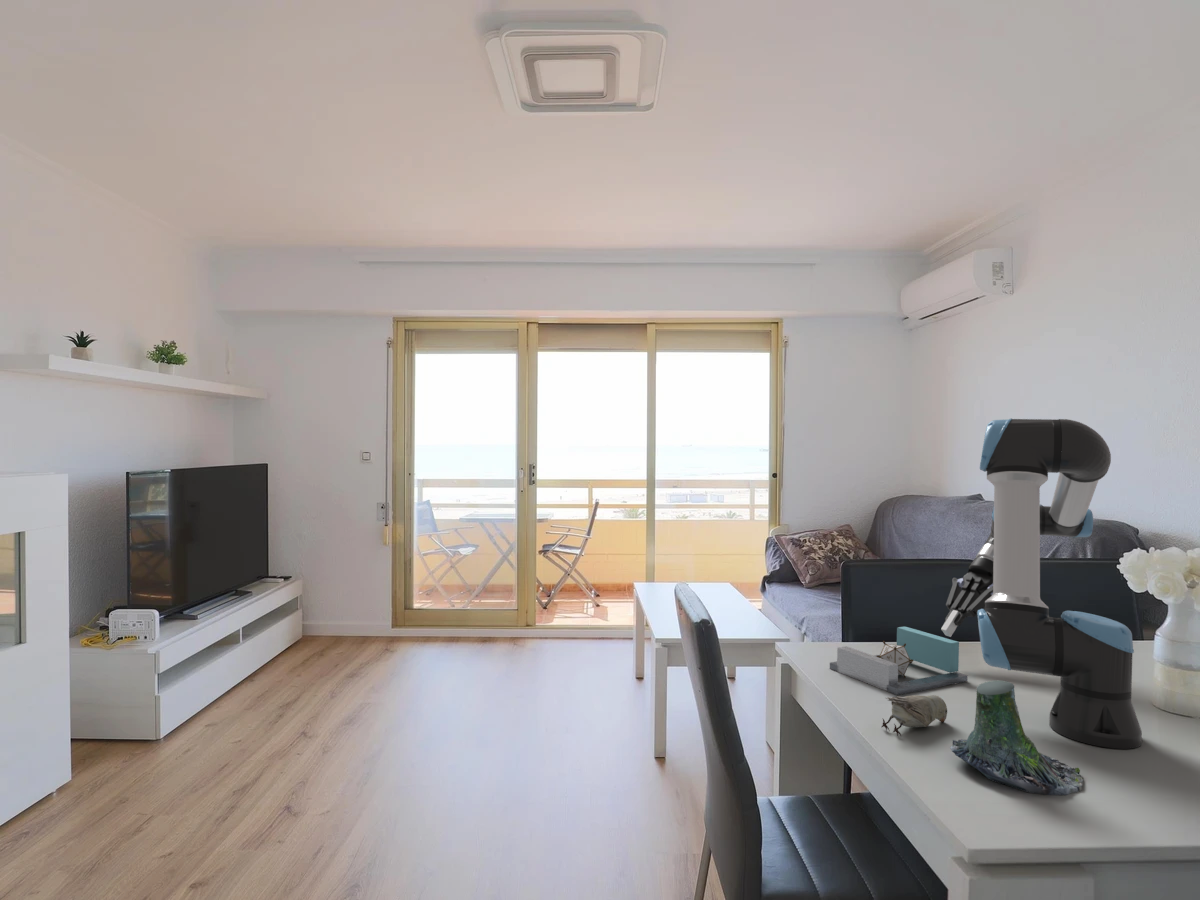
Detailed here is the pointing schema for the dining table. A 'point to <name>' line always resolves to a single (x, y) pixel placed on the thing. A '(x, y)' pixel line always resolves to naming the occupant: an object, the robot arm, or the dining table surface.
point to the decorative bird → (916, 711)
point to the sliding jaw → (929, 648)
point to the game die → (896, 656)
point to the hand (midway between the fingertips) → (945, 632)
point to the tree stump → (1011, 747)
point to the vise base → (886, 672)
